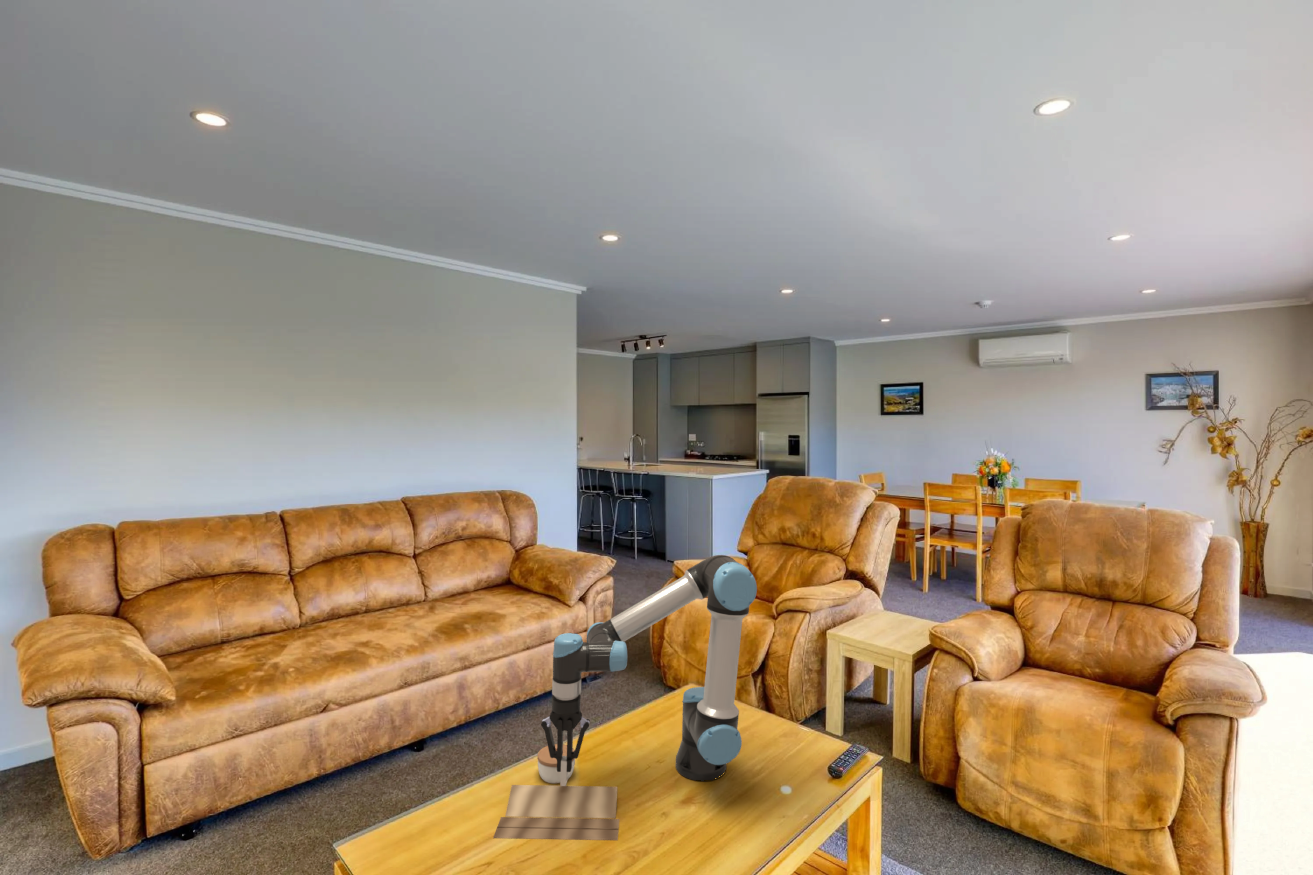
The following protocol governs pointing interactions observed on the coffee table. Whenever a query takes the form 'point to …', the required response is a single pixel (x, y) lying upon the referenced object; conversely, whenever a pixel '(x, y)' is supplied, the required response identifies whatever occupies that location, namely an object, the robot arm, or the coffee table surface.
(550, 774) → the lidded jar
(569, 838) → the laid board
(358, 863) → the coffee table surface
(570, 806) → the plank
